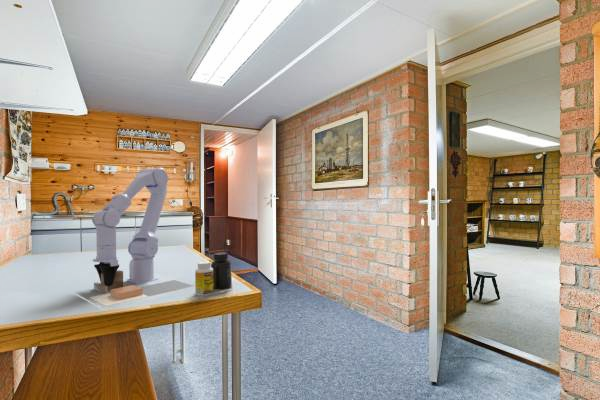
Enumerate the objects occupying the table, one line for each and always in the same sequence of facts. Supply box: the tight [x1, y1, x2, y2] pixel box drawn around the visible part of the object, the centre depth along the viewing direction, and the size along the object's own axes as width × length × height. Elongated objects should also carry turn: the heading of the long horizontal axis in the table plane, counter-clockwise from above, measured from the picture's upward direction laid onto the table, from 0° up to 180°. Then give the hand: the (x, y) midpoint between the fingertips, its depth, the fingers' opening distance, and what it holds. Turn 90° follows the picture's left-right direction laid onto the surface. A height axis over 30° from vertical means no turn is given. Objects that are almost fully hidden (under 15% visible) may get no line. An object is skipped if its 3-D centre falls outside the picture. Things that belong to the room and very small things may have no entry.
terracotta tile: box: [109, 284, 143, 300], centre depth 102 cm, size 7×7×2 cm
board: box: [89, 279, 194, 307], centre depth 106 cm, size 14×28×1 cm, turn 140°
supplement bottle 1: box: [194, 260, 214, 297], centre depth 103 cm, size 6×6×10 cm
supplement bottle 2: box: [211, 251, 233, 290], centre depth 110 cm, size 7×7×12 cm
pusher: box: [93, 270, 124, 295], centre depth 110 cm, size 7×9×6 cm
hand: (106, 285), depth 109 cm, fingers closed on pusher, 3 cm apart
